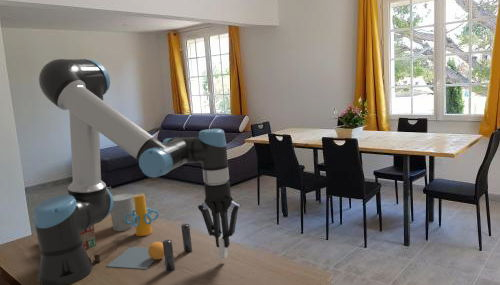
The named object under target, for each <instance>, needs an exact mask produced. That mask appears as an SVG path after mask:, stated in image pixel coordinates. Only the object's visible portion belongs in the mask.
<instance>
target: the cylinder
mask: <svg viewBox="0 0 500 285" xmlns="http://www.w3.org/2000/svg"><path fill="white" fill-rule="evenodd" d="M133 195H134V204H135V210H133V212H132V213H129V214H127V215H126V217H125V221H126V223H128V224H133V226H134V227H135V228H134V231H135V235H136V236H137V237H144V236H149V235H150V234H152V232H153V229H152V228H153V227H152V222H153V221H156V220H158V218H159V212H158V211H157V210H156V209H151V208H150V207H147V203H146V196H145V193H136V194H133ZM134 212H136V215H135V214H134ZM152 212H153V213H155V214H156V215H155V217H154V218H152ZM130 215H133V219H132V222H128V220H127V217H128V216H130Z"/></svg>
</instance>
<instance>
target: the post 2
mask: <svg viewBox="0 0 500 285" xmlns="http://www.w3.org/2000/svg"><path fill="white" fill-rule="evenodd" d="M190 227H191V226H190V224H189V223H184V224H181V235H182V243H183V244H182V246H183V252H184V254H189V253H192V252H193V247H192V246H193V245H192V237H191V228H190Z"/></svg>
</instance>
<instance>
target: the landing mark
mask: <svg viewBox="0 0 500 285" xmlns="http://www.w3.org/2000/svg"><path fill="white" fill-rule="evenodd" d="M148 249H149V247H143V246H142V247H141V246H131V247H129V248H127V249H126V250H125V251H124V252H122V253H121V254H120V255H119V256H117V257H116V258H115V259H114V260H112V261H111V262H109V264H107V265H106V267H107V268H120V269H121V268H123V269H135V270H147V269H148V268H149V267H150V266H151V265H152V264H154V262H156V260H155V259H152V258H151V257H150V256H149V254H148Z"/></svg>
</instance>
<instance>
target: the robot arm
mask: <svg viewBox="0 0 500 285" xmlns="http://www.w3.org/2000/svg"><path fill="white" fill-rule="evenodd" d="M110 77H111V76H110V74H109V72H108V70H107V69H106V68H105V66H103V64H101V63H100V62H99V61H97V60H93V59H86V58H84V59H82V58H80V59H78V58H77V59H76V58H74V59H71V58H70V59H66V58H58V59H57V58H56V59H54V60H51V61H49V62H48V63H46V64H45V65H44V66H42V69H41V70H40V72H39V76H38V83H39V87H40V89H41V92H42V93H43V95H44V96H45V97H46V99H48V100H49V101H50V102H51V103H52V104H53V105H55V106H56V107H57V108H59V109H60V110H61V111H62V110H63V111H69V112H68V113H69V129H70V130H69V132H70V134H69V135H70V148H71V149H70V151H71V170H72V182H71V183H70V184H68V186H67V194H63V195H61V194H60V195H56V196H53V197H49V198H46V199H45V200H42V201H41V202H40V203H38V204H37V205H36V207H35V208H34V210H33V217H34V220H33V221H34V226H35V231H36V236H37V242H38V246H39V247H38V248H39V252H40V259H39V266H38V267H39V269H38V271H37V279H38V283H39V284H40V285H70V284H72V283H76V282H78V281H80V280H82V279H83V278H86V277H87V276H88V275H89V274H90V273H91V272H92V271H93V267H94V266H93V261H92V259H91V257H90V256H89V255H88V253H87V251H86V250H87V249H85V248H84V247H83V243H82V237H81V232H82V231H84V230H86V229H87V228H89V227H91V226H93V225H94V226H95V225H96V224H99V223H101V222H102V221H103V220H105V218H107V217H108V216H109V215H111V211H112V208H113V196H114V195H113V193H112V192H110V190H109V188H107V185H106V182H104V181H103V180H102V173H101V172H102V171H101V144H100V137H101V136H100V134H101V135H103V136H104V137H105V138H107V139H108V140H110V141H111V142H112V143H113V144H115V145H116V146H118V147H119V148H120V149H122V150H123V151H125V152H126V153H127V154H129V155H130V156H132V157H133V158H134V159H136V160H137V161H138V165H139V166H138V167H139V168H140V170H141V171H142V173H143V174H144V175H145V176H147V177H148V178H158V177H161V176H165V175H166V174H168V173H169V172H171V171H172V170H174V169H177V168H179V167H181V166H182V165H185V164H191V163H194V164H195V163H196V164H197V163H198V164H199V163H201V166H202V177H203V182H204V184H203V187H204V195H205V198H204V201H203V202H201V203H200V204H198V206H197V209H198V210H199V211H200V213H201V215H202V218H203V221H204V223H205V226H206V227H205V228H206V229H207V233H208V235H209V236H213V237H214V238H215V246H216V247H217V248H218V249H219V259H220V260H226V258H227V257H228V256H229V254H228V248H229V247H230V237H232V236H233V235H234V234H235V232H236V226H237V225H236V224H237V218H238V213H239V209H240V208H241V203H239V202H238V203H236V202H235V201H234V200H233V197H232V196H231V184H230V174H229V173H230V172H229V164H228V151H227V148H228V147H227V141H226V135H225V134H226V133H225V131H224V129H221V128H210V129H209V128H208V129H207V128H206V129H202V130H200V131H199V132H198V136H195V137H176V136H175V137H170V138H164V139H163V141H162V142H161V141H160V140H158V139H157V138H156V137H154V136H153V135H152V134H150V133H149V132H147V130H145V129H143V128H142V127H140V126H139V125H138V124H136V123H135V122H133V121H132V120H131V119H129V118H127V117H126V115H123V113H121V112H119V110H116V108H114V107H113V106H111V105H110V104H108V103H107V102H106V101H104V95H105V94H106V93H107V92H108V91H109V89H110V86H111V79H110ZM230 207H231V208H230ZM229 209H231V213H230V220H229V215H228V210H229ZM210 211H211V213H210Z"/></svg>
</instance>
